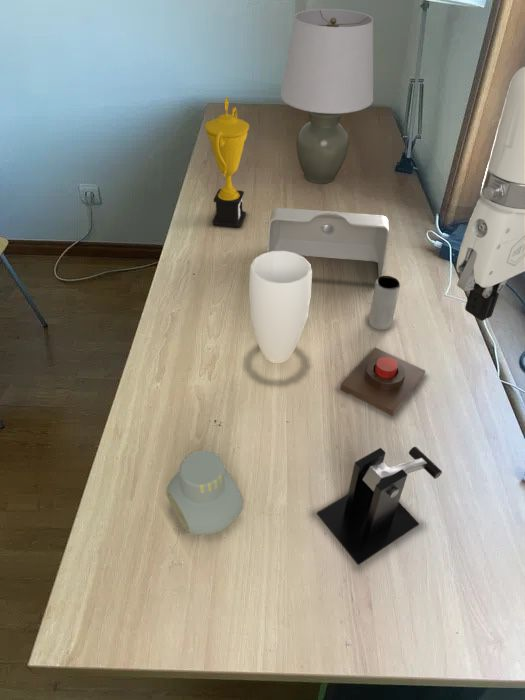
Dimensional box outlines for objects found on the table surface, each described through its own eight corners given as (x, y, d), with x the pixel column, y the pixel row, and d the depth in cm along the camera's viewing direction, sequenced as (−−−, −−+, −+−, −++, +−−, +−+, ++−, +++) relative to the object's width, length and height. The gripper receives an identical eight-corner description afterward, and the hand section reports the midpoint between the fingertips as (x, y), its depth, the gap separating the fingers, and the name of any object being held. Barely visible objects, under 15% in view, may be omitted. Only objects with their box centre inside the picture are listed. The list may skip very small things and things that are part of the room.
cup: (256, 391, 97) (257, 290, 83) (241, 352, 105) (240, 253, 90) (312, 381, 100) (323, 280, 85) (294, 343, 107) (302, 245, 93)
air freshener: (250, 524, 78) (250, 482, 72) (198, 554, 75) (193, 513, 68) (212, 469, 85) (209, 426, 79) (162, 494, 82) (155, 452, 75)
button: (381, 361, 98) (382, 353, 97) (399, 370, 97) (401, 362, 96) (371, 372, 96) (372, 365, 95) (389, 381, 95) (391, 374, 93)
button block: (373, 356, 105) (376, 339, 102) (422, 379, 100) (427, 363, 98) (339, 392, 98) (342, 376, 95) (391, 420, 93) (396, 403, 90)
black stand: (374, 482, 84) (389, 426, 75) (417, 528, 78) (438, 474, 70) (315, 517, 79) (324, 462, 71) (357, 568, 74) (371, 516, 65)
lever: (411, 455, 80) (419, 442, 79) (437, 480, 77) (445, 467, 76) (354, 471, 73) (362, 458, 72) (380, 500, 70) (389, 486, 69)
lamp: (264, 186, 155) (267, 22, 128) (294, 154, 172) (302, 3, 145) (348, 203, 149) (369, 34, 122) (370, 168, 165) (394, 12, 138)
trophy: (240, 244, 133) (239, 115, 113) (200, 240, 134) (192, 111, 114) (255, 206, 147) (256, 84, 127) (219, 202, 148) (214, 81, 128)
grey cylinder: (386, 335, 109) (395, 292, 102) (364, 327, 111) (372, 284, 104) (394, 322, 112) (403, 279, 105) (372, 315, 114) (381, 272, 107)
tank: (378, 249, 132) (387, 200, 124) (381, 289, 120) (391, 238, 112) (273, 241, 134) (274, 192, 126) (265, 279, 122) (266, 228, 114)
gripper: (499, 217, 58) (459, 349, 71) (588, 182, 64) (537, 309, 77) (446, 189, 63) (417, 317, 75) (533, 159, 69) (493, 282, 81)
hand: (477, 313), depth 76 cm, fingers closed
